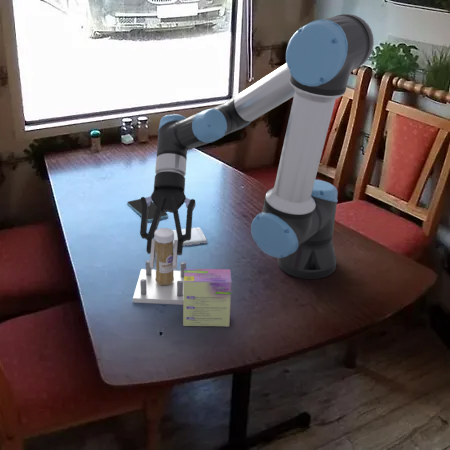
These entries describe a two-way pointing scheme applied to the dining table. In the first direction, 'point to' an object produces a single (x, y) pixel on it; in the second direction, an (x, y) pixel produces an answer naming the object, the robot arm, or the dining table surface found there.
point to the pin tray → (159, 287)
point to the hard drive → (192, 236)
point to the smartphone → (137, 207)
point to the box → (206, 297)
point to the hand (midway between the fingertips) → (163, 267)
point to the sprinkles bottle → (164, 255)
